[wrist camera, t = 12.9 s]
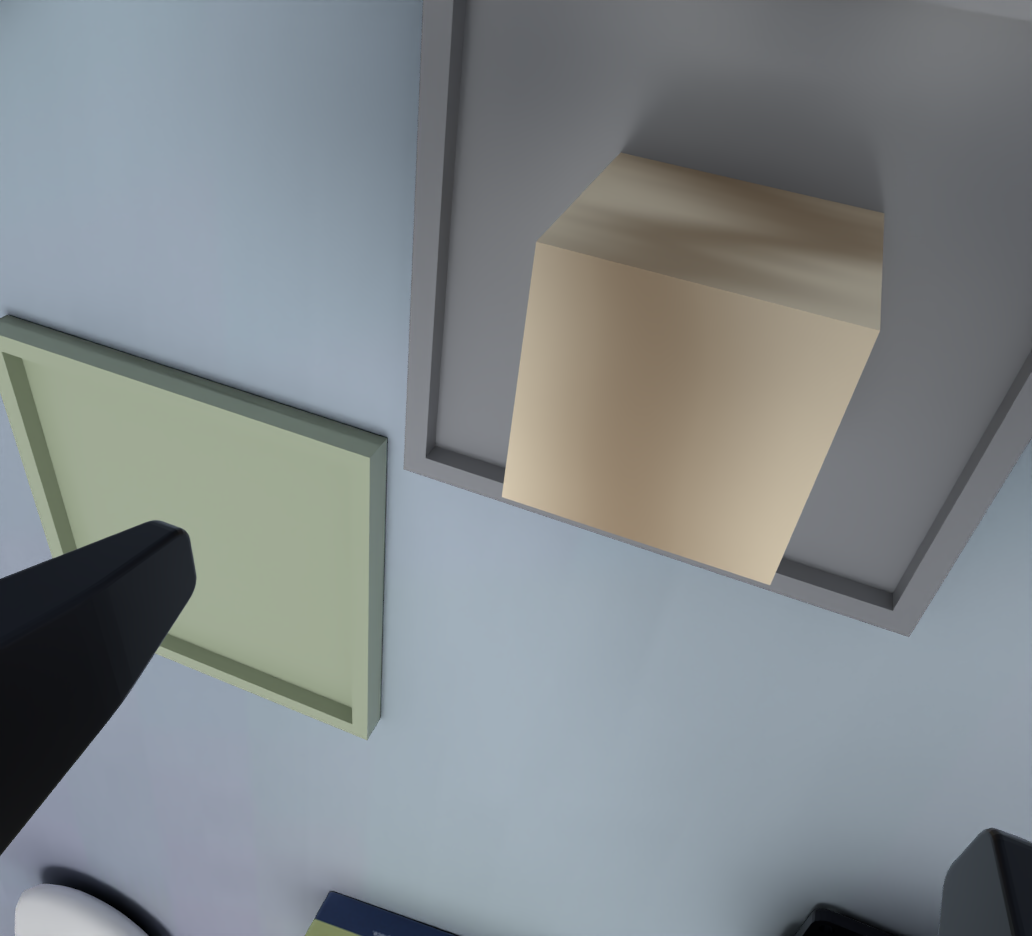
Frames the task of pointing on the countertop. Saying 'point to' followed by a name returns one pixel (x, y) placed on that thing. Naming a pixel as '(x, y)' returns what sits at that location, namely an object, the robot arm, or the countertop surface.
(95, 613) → the robot arm
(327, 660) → the olive tray
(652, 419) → the birch block
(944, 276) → the charcoal tray
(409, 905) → the countertop surface
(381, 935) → the protein box
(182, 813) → the countertop surface
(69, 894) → the flower in vase
